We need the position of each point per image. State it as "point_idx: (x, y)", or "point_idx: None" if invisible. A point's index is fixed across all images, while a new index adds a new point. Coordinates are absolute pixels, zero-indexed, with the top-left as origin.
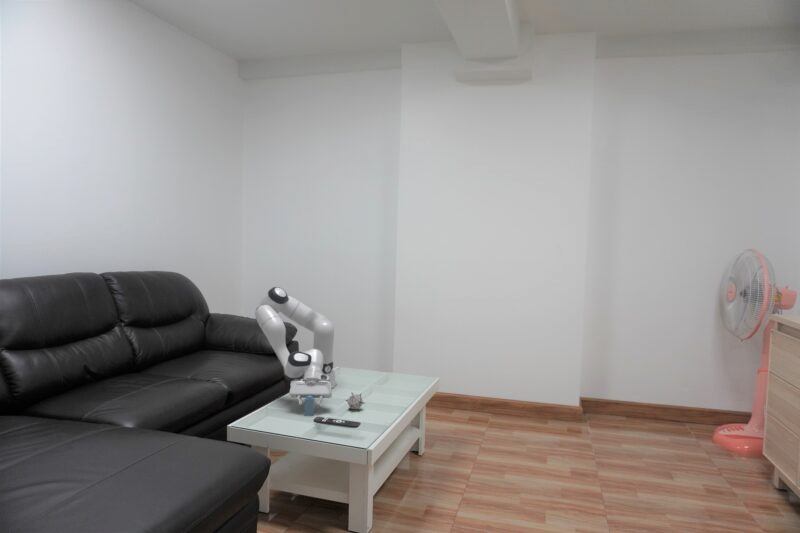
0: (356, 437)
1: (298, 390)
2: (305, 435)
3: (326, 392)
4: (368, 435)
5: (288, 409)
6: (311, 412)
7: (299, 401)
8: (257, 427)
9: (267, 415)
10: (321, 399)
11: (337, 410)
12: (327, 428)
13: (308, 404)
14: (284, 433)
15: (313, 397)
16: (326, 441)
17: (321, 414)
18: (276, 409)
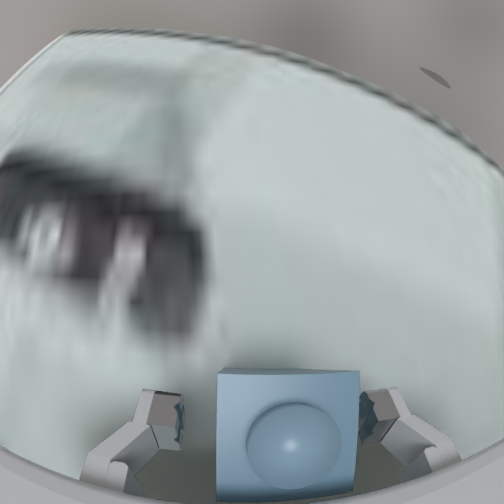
0: (54, 73)
1: (491, 497)
2: (237, 61)
3: (7, 483)
4: (15, 94)
5: None
6: (238, 369)
7: (403, 407)
8: (463, 160)
9: (500, 334)
10: (109, 446)
11: None
12: (128, 122)
13: (283, 372)
14: (333, 82)
15: (226, 461)
16: (158, 36)
17: None
18: None
